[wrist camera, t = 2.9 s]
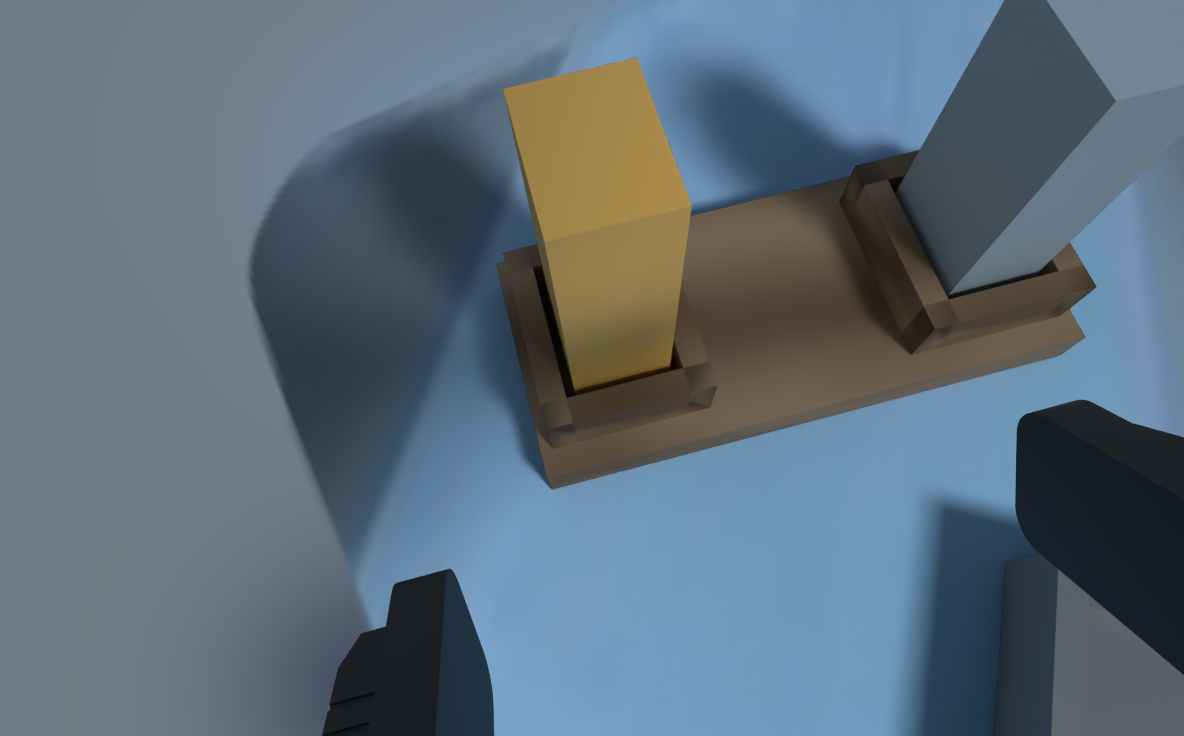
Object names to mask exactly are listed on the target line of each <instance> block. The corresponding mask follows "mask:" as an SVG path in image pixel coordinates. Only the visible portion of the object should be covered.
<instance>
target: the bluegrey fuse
mask: <svg viewBox="0 0 1184 736" xmlns="http://www.w3.org/2000/svg"><path fill="white" fill-rule="evenodd" d="M1183 133H1184V0H1004V2H1003V4H1002V6H1001V8H1000V9H999V11H998V13H997V15H996V16H995V18H994V20H993V22H992V23H991V25H990V27H989V29H988V31H987V32H986V34H985V36H984V38H983V39H982V41H981V43H980V45H979V46H978V48H977V50H976V52H975V53H974V55H973V57H972V59H971V61H970V62H969V64H968V66H967V68H966V69H965V71H964V73H963V75H962V76H961V78H960V80H959V82H958V84H957V85H956V87H955V89H954V91H953V92H952V94H951V96H950V98H949V99H948V101H947V103H946V105H945V106H944V108H943V110H942V112H941V114H940V115H939V117H938V119H937V121H936V122H935V124H934V126H933V128H932V129H931V131H930V133H929V135H928V137H927V138H926V140H925V142H924V144H923V145H922V147H921V149H920V151H919V152H918V154H917V156H916V158H915V159H914V161H913V163H912V165H911V167H910V168H909V170H908V172H907V174H906V175H905V177H904V179H903V181H902V182H901V184H900V186H899V188H898V189H897V191H896V193H895V195H896V197H897V199H898V201H899V203H900V205H901V207H902V209H903V211H904V213H905V215H906V217H907V219H908V221H909V223H910V225H911V227H912V229H913V230H914V232H915V234H916V236H917V238H918V240H919V242H920V244H921V246H922V248H923V250H924V252H925V254H926V256H927V258H928V260H929V262H930V264H931V266H932V268H933V270H934V272H935V274H936V276H937V278H938V280H939V282H940V284H941V286H942V288H943V290H944V292H945V294H946V296H947V298H948V300H949V299H953V298H957V297H961V296H964V295H968V294H972V293H976V292H980V291H984V290H988V289H992V288H995V287H999V286H1003V285H1007V284H1011V283H1015V282H1019V281H1023V280H1026V279H1030V278H1033V277H1034V276H1035V275H1036V274H1037V273H1038V272H1039V271H1040V270H1041V269H1042V268H1043V267H1044V266H1045V265H1046V264H1047V263H1048V262H1049V261H1050V260H1051V259H1052V258H1053V257H1054V256H1056V255H1057V254H1058V253H1059V252H1060V251H1061V250H1062V249H1063V248H1064V247H1065V246H1066V245H1067V244H1068V243H1069V242H1070V241H1071V240H1072V239H1073V238H1074V237H1075V236H1076V235H1077V234H1079V233H1080V232H1081V231H1082V230H1083V229H1084V228H1085V227H1086V226H1087V225H1088V224H1089V223H1090V222H1091V221H1092V220H1093V219H1094V218H1095V217H1096V216H1097V215H1098V214H1099V213H1101V212H1102V211H1103V210H1104V209H1105V208H1106V207H1107V206H1108V205H1109V204H1110V203H1111V202H1112V201H1113V200H1114V199H1115V198H1116V197H1117V196H1118V195H1119V194H1120V193H1121V192H1122V191H1124V190H1125V189H1126V188H1127V187H1128V186H1129V185H1130V184H1131V183H1132V182H1133V181H1134V180H1135V179H1136V178H1137V177H1138V176H1139V175H1140V174H1141V173H1142V172H1143V171H1144V170H1145V169H1147V168H1148V167H1149V166H1150V165H1151V164H1152V163H1153V162H1154V161H1155V160H1156V159H1157V158H1158V157H1159V156H1160V155H1161V154H1162V153H1163V152H1164V151H1165V150H1166V149H1167V148H1169V147H1170V146H1171V145H1172V144H1173V143H1174V142H1175V141H1176V140H1177V139H1178V138H1179V137H1180V136H1181V135H1182V134H1183Z"/></svg>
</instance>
